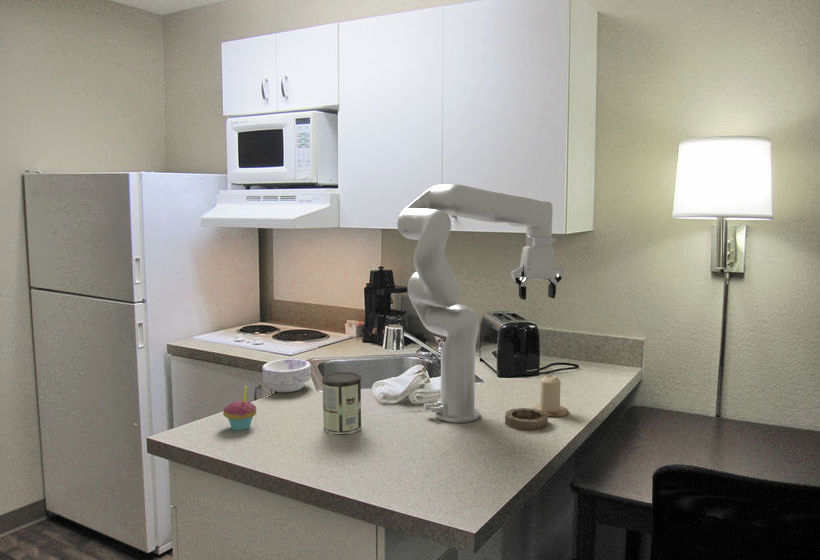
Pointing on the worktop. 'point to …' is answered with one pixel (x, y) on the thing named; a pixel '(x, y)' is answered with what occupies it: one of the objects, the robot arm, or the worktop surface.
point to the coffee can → (342, 403)
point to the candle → (550, 394)
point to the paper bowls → (286, 374)
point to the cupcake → (240, 413)
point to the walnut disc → (560, 413)
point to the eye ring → (530, 425)
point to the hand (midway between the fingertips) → (537, 298)
